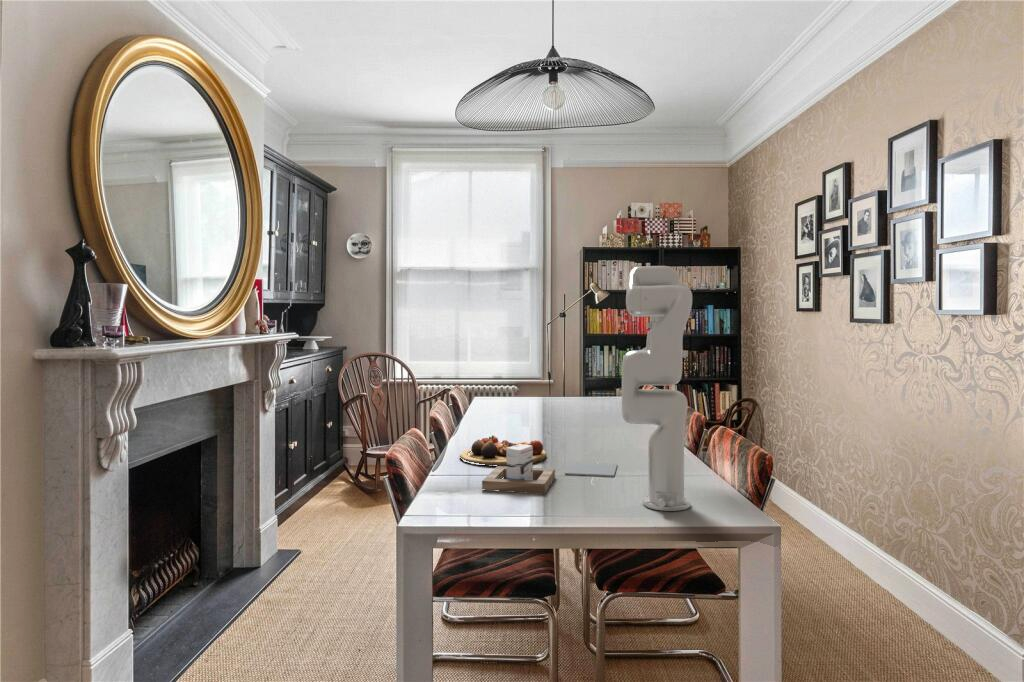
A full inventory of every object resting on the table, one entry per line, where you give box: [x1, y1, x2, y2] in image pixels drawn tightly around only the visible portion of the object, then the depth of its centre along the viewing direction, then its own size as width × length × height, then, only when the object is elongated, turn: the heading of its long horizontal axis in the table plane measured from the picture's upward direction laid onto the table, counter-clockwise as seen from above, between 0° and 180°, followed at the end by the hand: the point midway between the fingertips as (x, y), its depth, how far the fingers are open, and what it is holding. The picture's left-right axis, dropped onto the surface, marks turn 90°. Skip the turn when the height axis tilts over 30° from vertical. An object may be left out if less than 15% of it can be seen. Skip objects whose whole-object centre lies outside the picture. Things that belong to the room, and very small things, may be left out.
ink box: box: [505, 444, 534, 481], centre depth 198 cm, size 8×5×12 cm, turn 148°
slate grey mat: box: [564, 461, 618, 478], centre depth 215 cm, size 16×16×1 cm
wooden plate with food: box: [459, 434, 547, 467], centre depth 236 cm, size 32×32×8 cm
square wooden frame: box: [481, 466, 556, 495], centre depth 198 cm, size 19×19×3 cm
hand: (661, 376), depth 217 cm, fingers open, 9 cm apart
